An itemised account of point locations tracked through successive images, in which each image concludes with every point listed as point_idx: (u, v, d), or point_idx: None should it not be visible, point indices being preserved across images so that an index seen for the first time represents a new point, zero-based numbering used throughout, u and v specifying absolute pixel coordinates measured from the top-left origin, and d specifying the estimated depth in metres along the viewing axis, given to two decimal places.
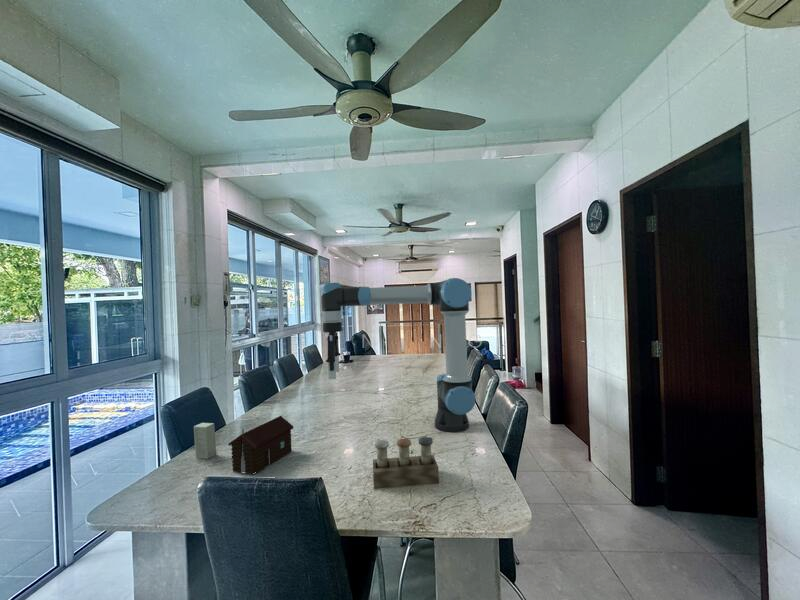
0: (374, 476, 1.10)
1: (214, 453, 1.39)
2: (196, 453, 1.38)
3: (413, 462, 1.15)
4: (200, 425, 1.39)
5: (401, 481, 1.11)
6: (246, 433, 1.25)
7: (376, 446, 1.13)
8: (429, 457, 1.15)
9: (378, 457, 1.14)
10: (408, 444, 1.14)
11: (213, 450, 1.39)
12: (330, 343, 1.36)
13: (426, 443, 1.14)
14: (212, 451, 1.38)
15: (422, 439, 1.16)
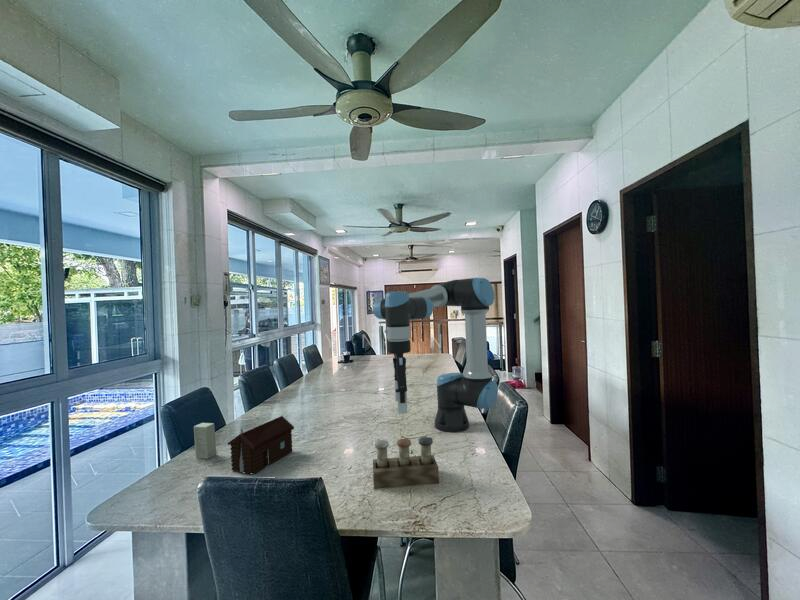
0: (374, 476, 1.10)
1: (214, 453, 1.39)
2: (196, 453, 1.38)
3: (413, 462, 1.15)
4: (200, 425, 1.39)
5: (401, 481, 1.11)
6: (245, 433, 1.25)
7: (376, 446, 1.13)
8: (429, 457, 1.15)
9: (378, 457, 1.14)
10: (408, 444, 1.14)
11: (213, 450, 1.39)
12: (400, 368, 1.08)
13: (426, 443, 1.14)
14: (212, 451, 1.38)
15: (422, 439, 1.16)
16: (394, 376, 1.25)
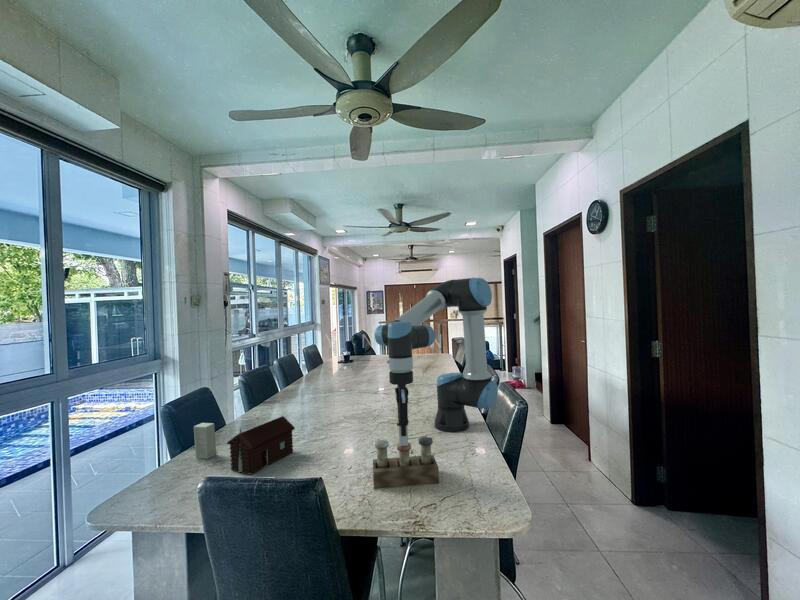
0: (374, 476, 1.10)
1: (214, 453, 1.39)
2: (196, 453, 1.38)
3: (413, 462, 1.15)
4: (200, 425, 1.39)
5: (401, 481, 1.11)
6: (243, 433, 1.25)
7: (376, 446, 1.13)
8: (429, 457, 1.15)
9: (378, 457, 1.14)
10: (408, 448, 1.14)
11: (213, 450, 1.39)
12: (402, 406, 1.10)
13: (426, 443, 1.14)
14: (212, 451, 1.38)
15: (422, 439, 1.16)
16: (398, 417, 1.18)
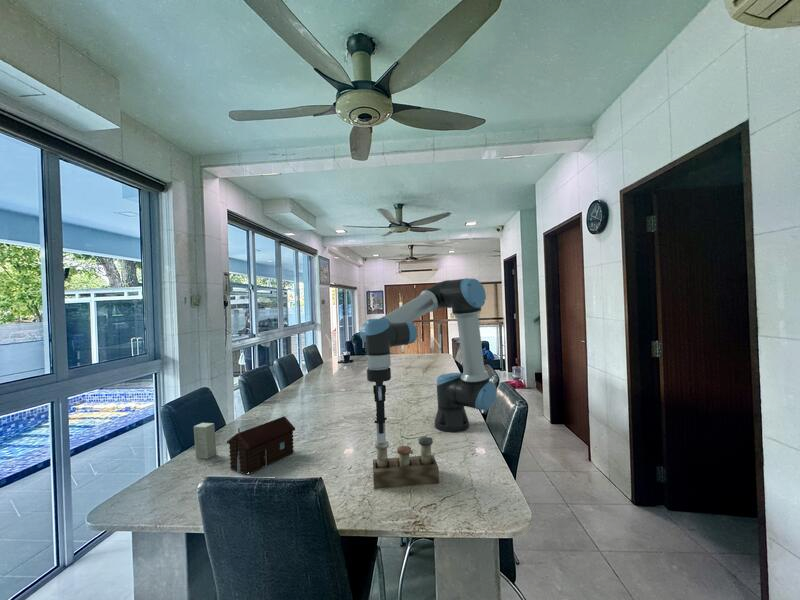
0: (374, 476, 1.10)
1: (214, 453, 1.39)
2: (196, 453, 1.38)
3: (413, 462, 1.15)
4: (200, 425, 1.39)
5: (401, 481, 1.11)
6: (242, 432, 1.26)
7: (376, 446, 1.13)
8: (429, 457, 1.15)
9: (378, 457, 1.14)
10: (408, 452, 1.14)
11: (213, 450, 1.39)
12: (379, 403, 1.10)
13: (426, 443, 1.14)
14: (212, 451, 1.38)
15: (422, 439, 1.16)
16: (376, 414, 1.17)
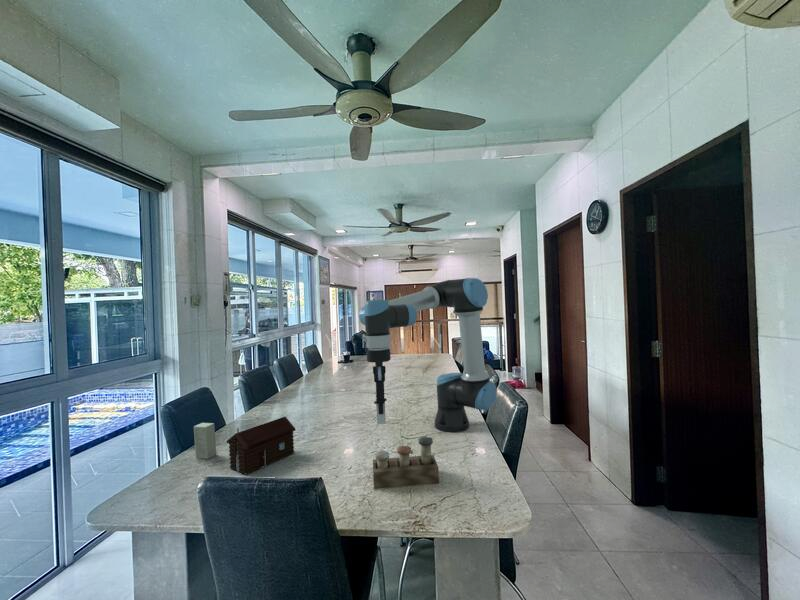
0: (374, 476, 1.10)
1: (214, 453, 1.39)
2: (196, 453, 1.38)
3: (413, 462, 1.15)
4: (200, 425, 1.39)
5: (401, 481, 1.11)
6: (241, 432, 1.26)
7: (376, 457, 1.13)
8: (429, 457, 1.15)
9: None
10: (408, 452, 1.14)
11: (213, 450, 1.39)
12: (379, 383, 1.10)
13: (426, 443, 1.14)
14: (212, 451, 1.38)
15: (422, 439, 1.16)
16: None
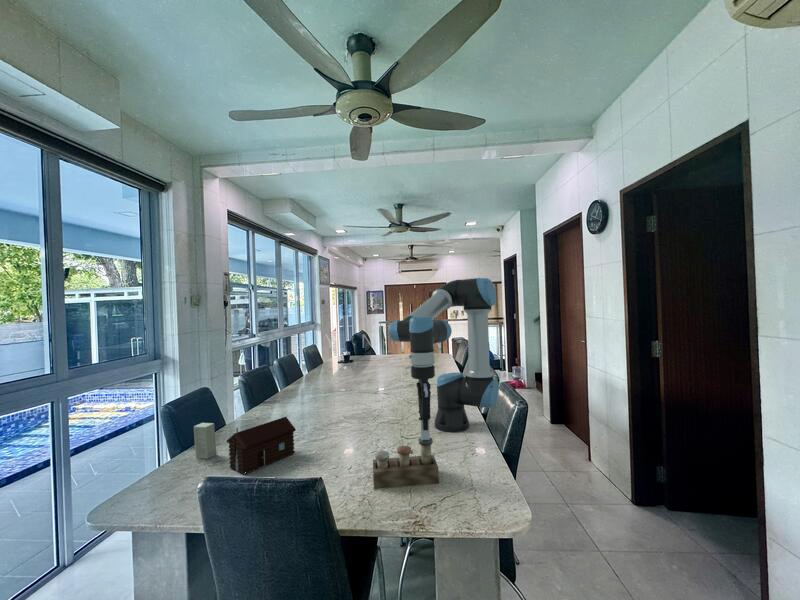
0: (374, 476, 1.10)
1: (214, 453, 1.39)
2: (196, 453, 1.38)
3: (413, 462, 1.15)
4: (200, 425, 1.39)
5: (401, 481, 1.11)
6: (240, 432, 1.26)
7: (376, 457, 1.13)
8: (429, 457, 1.15)
9: None
10: (408, 452, 1.14)
11: (213, 450, 1.39)
12: (425, 400, 1.11)
13: (426, 443, 1.14)
14: (212, 451, 1.38)
15: None
16: (419, 411, 1.18)
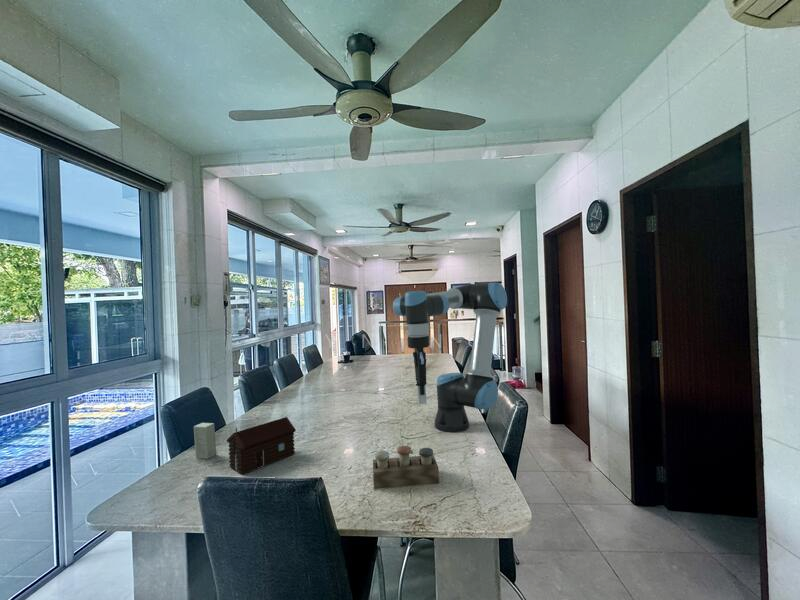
0: (374, 476, 1.10)
1: (214, 453, 1.39)
2: (196, 453, 1.38)
3: (413, 462, 1.15)
4: (200, 425, 1.39)
5: (401, 481, 1.11)
6: (240, 432, 1.27)
7: (376, 457, 1.13)
8: None
9: None
10: (408, 452, 1.14)
11: (213, 450, 1.39)
12: (421, 367, 1.21)
13: (426, 454, 1.14)
14: (212, 451, 1.38)
15: (422, 450, 1.16)
16: (416, 378, 1.29)
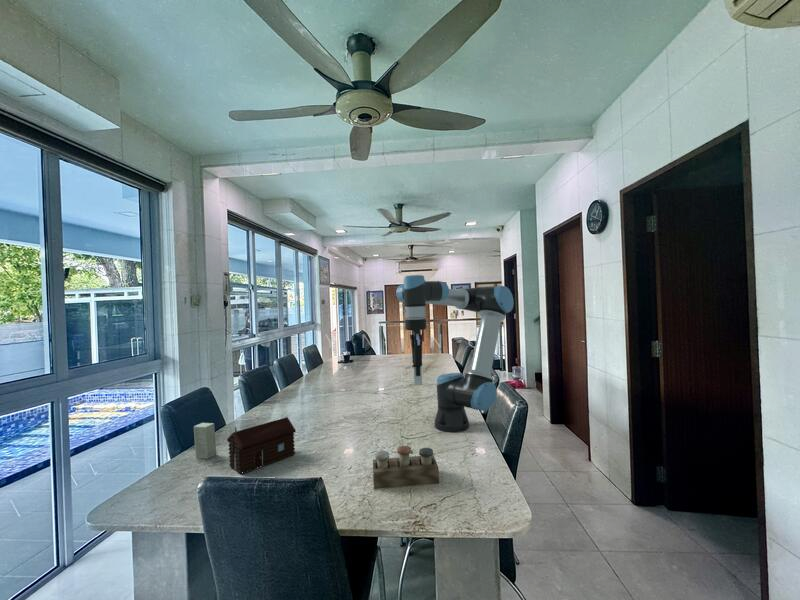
0: (374, 476, 1.10)
1: (214, 453, 1.39)
2: (196, 453, 1.38)
3: (413, 462, 1.15)
4: (200, 425, 1.39)
5: (401, 481, 1.11)
6: (239, 432, 1.27)
7: (376, 457, 1.13)
8: None
9: None
10: (408, 452, 1.14)
11: (213, 450, 1.39)
12: (417, 348, 1.25)
13: (426, 454, 1.14)
14: (212, 451, 1.38)
15: (422, 450, 1.16)
16: (412, 361, 1.32)
